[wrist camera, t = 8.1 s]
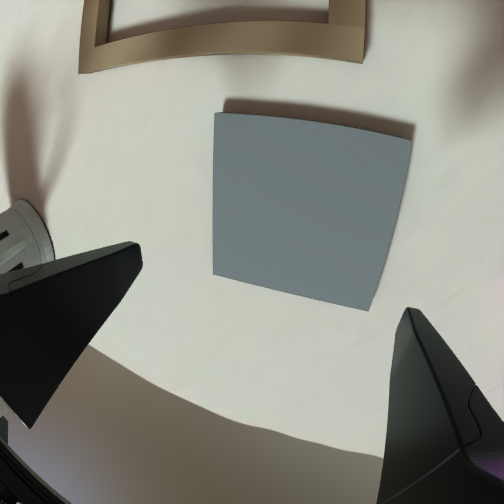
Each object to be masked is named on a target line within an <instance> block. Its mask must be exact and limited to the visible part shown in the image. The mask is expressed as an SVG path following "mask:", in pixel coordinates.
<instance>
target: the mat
mask: <svg viewBox="0 0 504 504" xmlns="http://www.w3.org/2000/svg"><path fill="white" fill-rule="evenodd" d="M411 147H412V141H411V140H409V139H405V138H401V137H397V136H393V135H389V134H384V133H380V132H375V131H370V130H365V129H360V128H355V127H349V126H344V125H338V124H332V123H325V122H319V121H312V120H304V119H296V118H288V117H278V116H268V115H256V114H242V113H223V112H219V113H215V115H214V149H213V274H214V275H218V276H222V277H226V278H229V279H233V280H237V281H241V282H245V283H249V284H253V285H257V286H261V287H265V288H269V289H273V290H278V291H282V292H286V293H290V294H294V295H298V296H303V297H307V298H311V299H315V300H320V301H324V302H328V303H333V304H337V305H342V306H346V307H351V308H355V309H360V310H364V311H369V309H370V306H371V303H372V300H373V297H374V294H375V291H376V288H377V285H378V282H379V279H380V276H381V272H382V269H383V266H384V263H385V259H386V256H387V252H388V249H389V245H390V242H391V238H392V234H393V231H394V227H395V223H396V219H397V215H398V211H399V207H400V202H401V198H402V193H403V189H404V184H405V179H406V174H407V169H408V164H409V159H410V153H411Z"/></svg>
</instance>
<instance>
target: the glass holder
mask: <svg viewBox="0 0 504 504" xmlns="http://www.w3.org/2000/svg"><path fill="white" fill-rule="evenodd" d="M53 260H54V253H53V249H52V245H51V242H50V239H49V236H48V233H47V231H46V229H45V227H44V224H43V222H42V221H41V219H40V217H39V216H38V214H37V213H36V211H35V210H34V209H33V207H32V206H31V205H30V204H29V203H28V202H26V201H24V200H21V199H20V200H17V201H15V202H14V203H13V204H12V206H11V207H10V208H9V209H8V210H6V211H4V212H3V213H1V214H0V274H3V273H7V272H11V271H16V270H20V269H24V268H28V267H31V266H35V265H39V264H42V263H44V264H45V263H46V262H50V261H53Z"/></svg>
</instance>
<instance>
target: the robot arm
mask: <svg viewBox="0 0 504 504" xmlns="http://www.w3.org/2000/svg"><path fill="white" fill-rule="evenodd" d="M142 266H143V262H142V255H141V248H140V245H139V244H138V243H135V242H131V241H128V242H123V243H119V244H115V245H111V246H107V247H103V248H99V249H95V250H91V251H88V252H84V253H80V254H76V255H72V256H68V257H65V258H61V259H57V260H53V261H50V262H46V263H45V264H44V263H42V264H39V265H35V266H31V267H28V268H24V269H20V270H16V271H11V272H7V273H3V274H0V504H16V503H17V502H19V503H20V504H71V503H70V502H69V501H68V500H66V499H65V498H64V497H63V496H61V495H60V494H59V493H58V492H57V491H55V490H54V489H53V488H52V487H51V486H49V485H48V484H47V483H46V482H45V481H44V480H43V479H42V478H41V477H39V476H38V475H37V474H36V473H35V472H34V471H33V470H32V469H31V468H30V467H29V466H28V465H27V464H26V463H25V462H24V461H23V460H22V459H21V458H20V457H19V456H18V455H17V454H16V453H15V452H14V451H13V450H12V449H11V447H10V446H9V445H8V421H7V420H6V418H5V417H4V416H3V414H4V413H5V412H6V411H7V410H8V409H10V410H11V411H12V412H13V413H14V415H15V416H16V417H17V418H18V419H19V420H21V422H22V423H23V424H24V425H26V427H28V429H30V428H32V426H33V425H34V423H35V421H36V420H37V418H38V417H39V415H40V414H41V412H42V411H43V409H44V407H45V406H46V404H47V403H48V401H49V400H50V398H51V397H52V395H53V394H54V392H55V391H56V389H57V388H58V385H60V383H61V382H62V380H63V379H64V377H65V376H66V375H67V373H68V372H69V370H70V369H71V367H72V366H73V364H74V363H75V362H76V360H77V359H78V357H79V356H80V355H81V353H82V352H83V350H84V349H85V347H86V346H87V345H88V344H89V342H90V341H91V340H92V338H93V337H94V336H95V334H96V333H97V332H98V330H99V329H100V328H101V326H102V325H103V324H104V322H105V321H106V320H107V318H108V317H109V316H110V315H111V313H112V312H113V311H114V309H115V308H116V307H117V306H118V304H119V303H120V302H121V300H122V299H123V297H124V296H125V294H126V293H127V291H128V290H129V288H130V286H131V285H132V283H133V282H134V280H135V279H136V277H137V276H138V274H139V273H140V271H141V269H142ZM376 504H504V422H503V421H502V420H501V418H500V417H499V416H498V414H497V413H496V412H495V410H494V409H493V408H492V406H491V405H490V403H489V402H488V401H487V399H486V398H485V396H484V395H483V393H482V392H481V390H480V389H479V388H478V386H477V385H475V382H474V380H473V379H472V378H471V376H470V375H469V373H468V372H467V371H466V369H465V368H464V366H463V365H462V364H461V362H460V361H459V360H458V358H457V357H456V356H455V354H454V353H453V351H452V350H451V349H450V348H449V346H448V345H447V344H446V342H445V341H444V340H443V338H442V337H441V336H440V334H439V333H438V332H437V331H436V329H435V328H434V327H433V326H432V324H431V323H430V322H429V321H428V319H427V318H426V317H425V316H424V314H423V313H422V312H421V311H420V310H419V309H416V308H411V307H407V308H406V309H405V311H404V313H403V316H402V318H401V320H400V322H399V325H398V327H397V330H396V334H395V343H394V351H393V359H392V366H391V374H390V388H389V407H388V421H387V433H386V443H385V452H384V460H383V468H382V474H381V481H380V487H379V493H378V498H377V503H376Z"/></svg>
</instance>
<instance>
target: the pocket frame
mask: <svg viewBox="0 0 504 504" xmlns="http://www.w3.org/2000/svg"><path fill="white" fill-rule="evenodd" d="M109 8H110V0H84V6H83V15H82V24H81V35H80V48H79V71H78V74H87V73H93V72H97V71H102V70H106V69H111V68H116V67H121V66H126V65H132V64H137V63H143V62H150V61H157V60H165V59H173V58H183V57H194V56H208V55H233V54H263V55H288V56H303V57H314V58H323V59H332V60H340V61H347V62H353V63H359V64H363V51H364V32H365V0H329V15H328V24H325V23H313V22H296V21H244V22H227V23H215V24H205V25H196V26H189V27H182V28H175V29H169V30H163V31H158V32H153V33H148V34H143V35H139V36H134V37H130V38H126V39H122V40H118V41H115V42H111V43H107V44H106V41H107V28H108V17H109Z"/></svg>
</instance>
